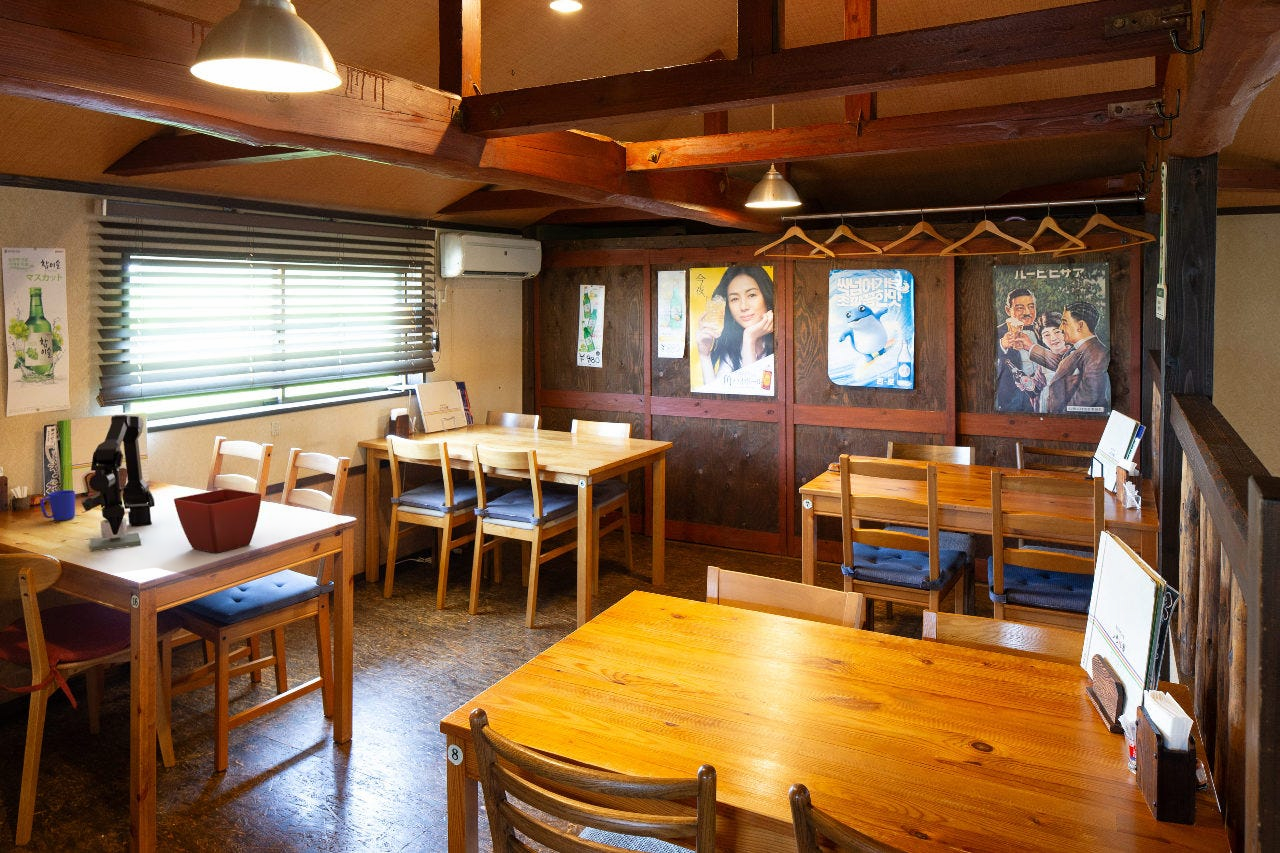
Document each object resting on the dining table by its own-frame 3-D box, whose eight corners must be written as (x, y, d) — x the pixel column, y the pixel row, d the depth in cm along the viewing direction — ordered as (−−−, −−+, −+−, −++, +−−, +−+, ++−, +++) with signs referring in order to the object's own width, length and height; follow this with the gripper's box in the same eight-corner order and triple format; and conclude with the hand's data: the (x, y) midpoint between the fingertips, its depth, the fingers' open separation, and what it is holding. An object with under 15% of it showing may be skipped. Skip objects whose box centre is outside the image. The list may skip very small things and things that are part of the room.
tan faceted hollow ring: (126, 531, 303) (125, 516, 302) (127, 536, 297) (126, 521, 296) (101, 534, 299) (100, 519, 298) (102, 539, 293) (100, 524, 292)
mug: (35, 523, 328) (32, 496, 327) (67, 515, 339) (64, 489, 338) (50, 525, 325) (48, 497, 324) (82, 517, 336) (80, 491, 335)
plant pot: (229, 536, 307) (225, 487, 305) (266, 543, 298) (263, 493, 295) (176, 550, 291) (171, 498, 289) (213, 558, 281) (209, 504, 279)
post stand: (138, 537, 307) (137, 518, 306) (141, 545, 297) (139, 525, 296) (90, 543, 300) (88, 523, 299) (91, 551, 290) (89, 531, 289)
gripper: (81, 483, 299) (85, 529, 302) (81, 493, 284) (86, 542, 286) (119, 479, 305) (123, 525, 307) (122, 489, 290) (126, 537, 292)
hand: (114, 532), depth 298 cm, fingers closed on tan faceted hollow ring, 7 cm apart
